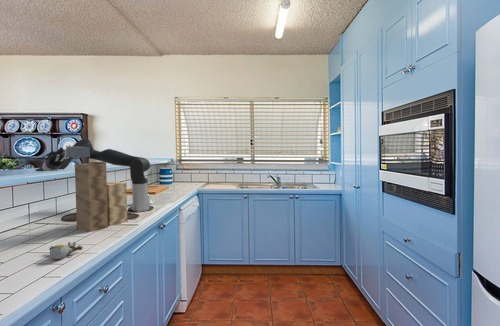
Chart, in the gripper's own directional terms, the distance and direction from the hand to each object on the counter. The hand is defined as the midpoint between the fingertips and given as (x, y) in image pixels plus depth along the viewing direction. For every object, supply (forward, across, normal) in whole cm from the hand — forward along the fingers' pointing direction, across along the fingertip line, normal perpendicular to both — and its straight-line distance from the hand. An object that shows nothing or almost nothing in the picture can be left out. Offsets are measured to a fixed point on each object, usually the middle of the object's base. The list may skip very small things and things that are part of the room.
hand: (65, 148), depth 160 cm
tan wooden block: (-2, -13, -44) cm, 46 cm away
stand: (0, -1, -45) cm, 45 cm away
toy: (+23, +25, -59) cm, 68 cm away
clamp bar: (+4, 0, -6) cm, 7 cm away
